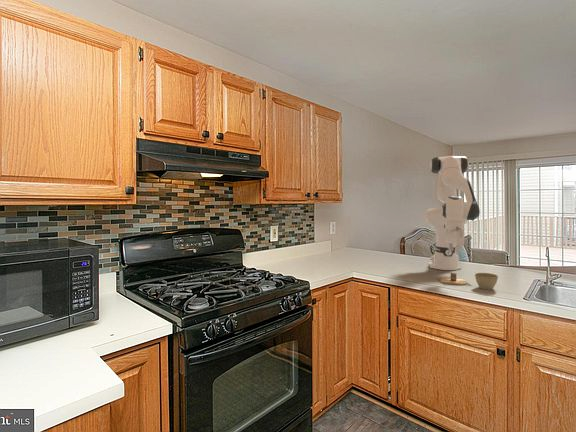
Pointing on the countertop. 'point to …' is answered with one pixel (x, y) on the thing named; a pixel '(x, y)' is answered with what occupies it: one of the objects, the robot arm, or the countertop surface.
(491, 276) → the olive bowl
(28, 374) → the countertop surface
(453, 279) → the lid
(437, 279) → the mat
